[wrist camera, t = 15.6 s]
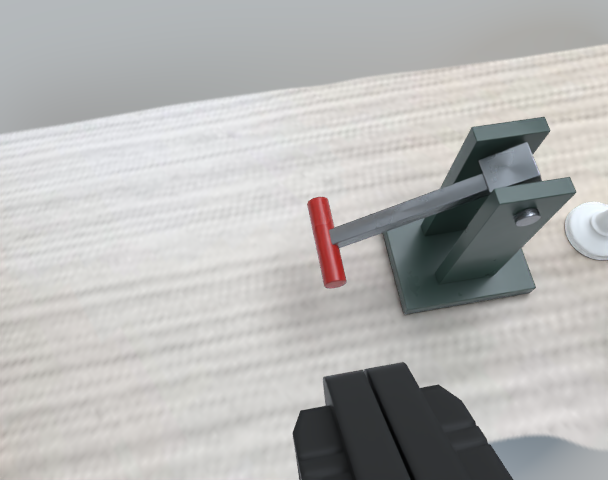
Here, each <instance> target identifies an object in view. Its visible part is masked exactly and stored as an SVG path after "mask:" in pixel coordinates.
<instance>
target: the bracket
mask: <svg viewBox="0 0 608 480" xmlns="http://www.w3.org/2000/svg"><path fill="white" fill-rule="evenodd" d="M549 132H550V129H549V126H548V124H547V122H546V119H545V117H540V118H533V119H526V120H519V121H512V122H505V123H498V124H491V125H484V126H477V127H472V128H471V130H470V132H469V134H468V136H467V137H466V139H465V141H464V143H463V145H462V147H461V149H460V151H459V153H458V155H457V157H456V159H455V161H454V163H453V164H452V166H451V168H450V170H449V172H448V174H447V176H446V178H445V180H444V182H443V184H442V186H441V188H444V187H447V186H449V185H452V184H455V183H458V182H460V181H463V180H466V179H468V178H471V177H474V176H477V175H479V174H483V172H482V170H481V167H480V164H479V160H480V159H483V158H486V157H488V156H491V155H494V154H496V153H499V152H502V151H504V150H507V149H509V148H512V147H515V146H517V145H520V144H523V143H525V142H528V145H529V147H530V150H531V152H532V155H533V154H534V152H535V151H536V150H537V148H538V147H539V146H540V144H541V143H542V142H543V140H544V139H545V137H546V136H547V135H548V133H549ZM441 188H440V189H441ZM575 193H576V190H575V188H574V185H573V183H572V181H571V178H570V177H566V178H560V179H553V180H547V181H540V182H534V183H527V184H521V185H514V186H508V187H501V188H495V189H493V191H492V192H491V194H490V195H488V196H486V197H483V198H480V199H477V200H474V201H471V202H469V203H466V204H463V205H460V206H457V207H454V208H452V209H449V210H446V211H443V212H440V213H437V214H435V215H432V216H429V217H426V218H423V219H420V220H418V221H415V222H412V223H409V224H406V225H403V226H401V227H398V228H395V229H392V230H389V231H386V232H384V233H383V235H384V239H385V243H386V247H387V251H388V254H389V258H390V262H391V266H392V270H393V274H394V277H395V281H396V285H397V289H398V293H399V296H400V300H401V304H402V308H403V312H404V314H410V313H416V312H422V311H427V310H433V309H439V308H445V307H450V306H456V305H462V304H468V303H473V302H479V301H485V300H491V299H496V298H502V297H508V296H514V295H520V294H525V293H530V292H531V291H532V290H534V289H535V288H536V287H535V284H534V281H533V279H532V276H531V273H530V270H529V268H528V265H527V262H526V259H525V257H524V254H523V251H522V247H523V246H524V245H525V244H526V243H527V242H528V241H529V240H530V239H531V238H532V237H533V236H534V235H535V234H536V233H537V232H538V231H539V230H540V229H541V228H542V227H543V226H544V225H545V224H546V223H547V222H548V221H549V219H550V218H551V217H552V216H553V215H554V214H555V213H556V212H557V211H558V210H559V209H560V208H561V207H562V206H563V205H564V204H565V203H566V202H567V201H568V200H569V199H570V198H571V197H572V196H573V195H574V194H575Z"/></svg>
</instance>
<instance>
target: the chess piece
mask: <svg viewBox="0 0 608 480" xmlns="http://www.w3.org/2000/svg"><path fill="white" fill-rule="evenodd" d="M565 231H566V235H567V238H568V240H569V241H570V243H571V244H572V246H573V247H574V248H575V249H576V250H577V251H579V252H580V253H581V254H583V255H585V256H587V257H589V258H592V259H596V260H608V205H606V204H603V203H599V202H587V203H583V204H581V205H579V206H578V207H576V208H574V209H573V210H572V211H571V212H570V213H569V214H568V216H567V218H566V221H565Z"/></svg>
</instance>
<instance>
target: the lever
mask: <svg viewBox="0 0 608 480" xmlns="http://www.w3.org/2000/svg"><path fill="white" fill-rule="evenodd" d="M479 164H480V167H481V170H482V172H483V174H479V175H477V176H474V177H471V178H468V179H466V180H463V181H460V182H458V183H455V184H452V185H449V186H447V187H444V188H441V189H439V190H436V191H433V192H430V193H428V194H425V195H422V196H420V197H417V198H414V199H411V200H409V201H406V202H403V203H401V204H398V205H395V206H392V207H390V208H387V209H384V210H381V211H379V212H376V213H373V214H371V215H368V216H365V217H362V218H360V219H357V220H354V221H352V222H349V223H346V224H343V225H341V226H338V227H335V228H334V224H333V219H332V215H331V210H330V206H329V201H328V199H327V198H325V197H316V198H313V199H311V200H310V201H309V202H308V204H307V205H308V210H309V215H310V220H311V225H312V229H313V234H314V239H315V244H316V249H317V253H318V258H319V263H320V268H321V273H322V277H323V282H324V286H325V287H326V288H337V287H340V286H343V285H344V284H346V277H345V272H344V268H343V264H342V259H341V255H340V250H339V248H341V247H344V246H347V245H350V244H352V243H355V242H358V241H361V240H364V239H367V238H369V237H372V236H375V235H378V234H381V233H384V232H386V231H389V230H392V229H395V228H398V227H401V226H403V225H406V224H409V223H412V222H415V221H418V220H420V219H423V218H426V217H429V216H432V215H435V214H437V213H440V212H443V211H446V210H449V209H452V208H454V207H457V206H460V205H463V204H466V203H469V202H471V201H474V200H477V199H480V198H483V197H486V196H488V195H490V194H491V192H492V191H493V189H495V188H501V187H508V186H514V185H521V184H527V183H534V182H540V181H542V180H541V175H540V172H539V170H538V167H537V165H536V162H535V160H534V157H533V155H532V152H531V150H530V147H529V145H528V142H525V143H523V144H520V145H517V146H515V147H512V148H509V149H507V150H504V151H502V152H499V153H496V154H494V155H491V156H488V157H486V158H483V159H480V160H479Z"/></svg>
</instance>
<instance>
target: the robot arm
mask: <svg viewBox="0 0 608 480" xmlns="http://www.w3.org/2000/svg"><path fill="white" fill-rule="evenodd" d="M323 386H324V395H325V404H326V406H323V407H318V408H312V409H307V410H302V411H300V414H299V417H298V419H297V422H296V425H295V428H294V431H293V439H294V445H295V452H296V459H297V466H298V473H299V480H513V479H512V477H511V476H510V474H509V473H508V471H507V470H506V468H505V466H504V465H503V463H502V462H501V460H500V459H499V457H498V456H497V454H496V453H495V451H494V450H493V448H492V447H491V445H490V444H488V443H487V439H486V437H485V436H484V434H483V433H482V431H481V430H480V428H479V427H478V426H476V424H475V421H474V419H473V417H472V416H471V414H470V413H469V411H468V410H467V408H466V407H465V405H464V404H463V402H462V401H461V400H460V399H459V398H457V397H456V396H454V395H453V394H451V393H450V392H448V391H447V390H446V389H444V388H443V387H441V386H440V385H434V386H429V387H423V388H419V386H418V384H417V382H416V381H415V379H414V377H413V375H412V374H411V372H410V370H409V368H408V367H407V365H406V364H405V363H404V362H402V363H396V364H391V365H385V366H380V367H374V368H369V369H365V370H364V371H363V370H359V371H353V372H348V373H342V374H337V375H331V376H326V377H323Z"/></svg>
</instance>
